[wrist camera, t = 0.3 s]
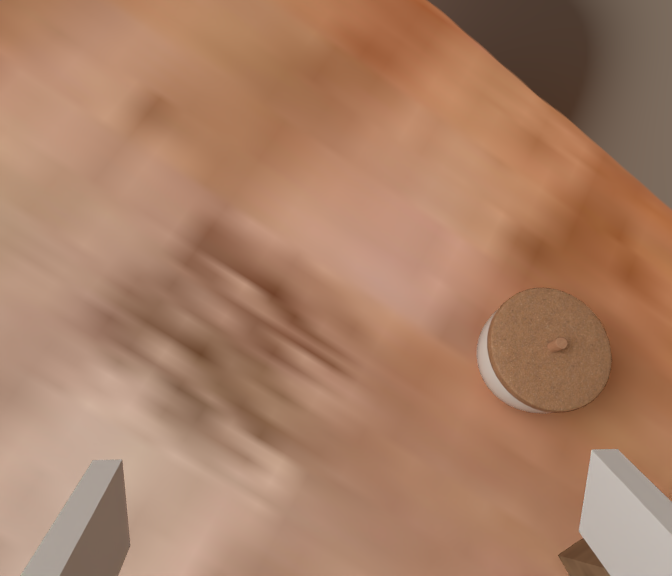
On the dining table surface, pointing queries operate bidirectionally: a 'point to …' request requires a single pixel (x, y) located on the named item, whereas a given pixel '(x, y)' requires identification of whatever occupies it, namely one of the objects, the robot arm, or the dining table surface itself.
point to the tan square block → (582, 561)
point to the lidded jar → (544, 352)
